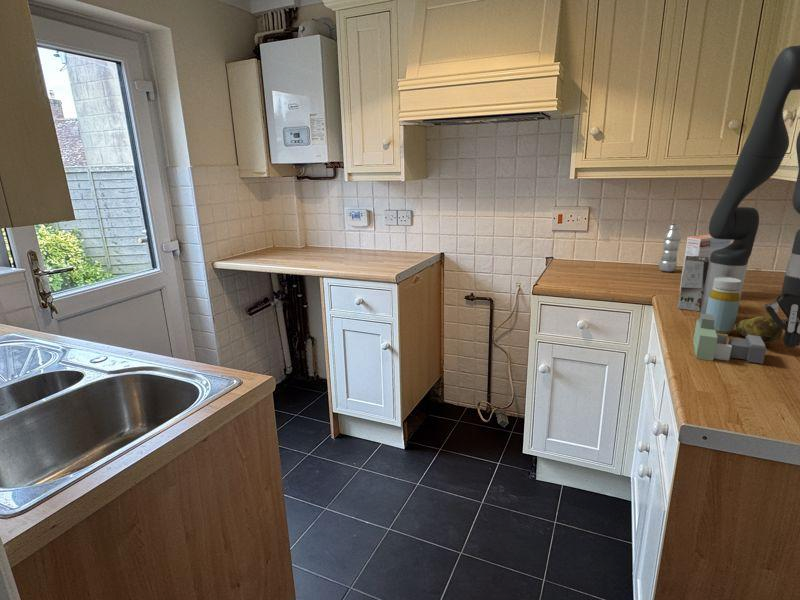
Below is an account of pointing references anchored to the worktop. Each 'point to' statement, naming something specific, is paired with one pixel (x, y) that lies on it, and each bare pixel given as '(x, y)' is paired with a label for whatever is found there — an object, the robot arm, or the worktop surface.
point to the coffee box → (693, 282)
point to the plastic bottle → (670, 249)
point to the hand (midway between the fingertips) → (790, 346)
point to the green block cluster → (710, 340)
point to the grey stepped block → (748, 348)
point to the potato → (760, 328)
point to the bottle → (724, 303)
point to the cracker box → (703, 247)
